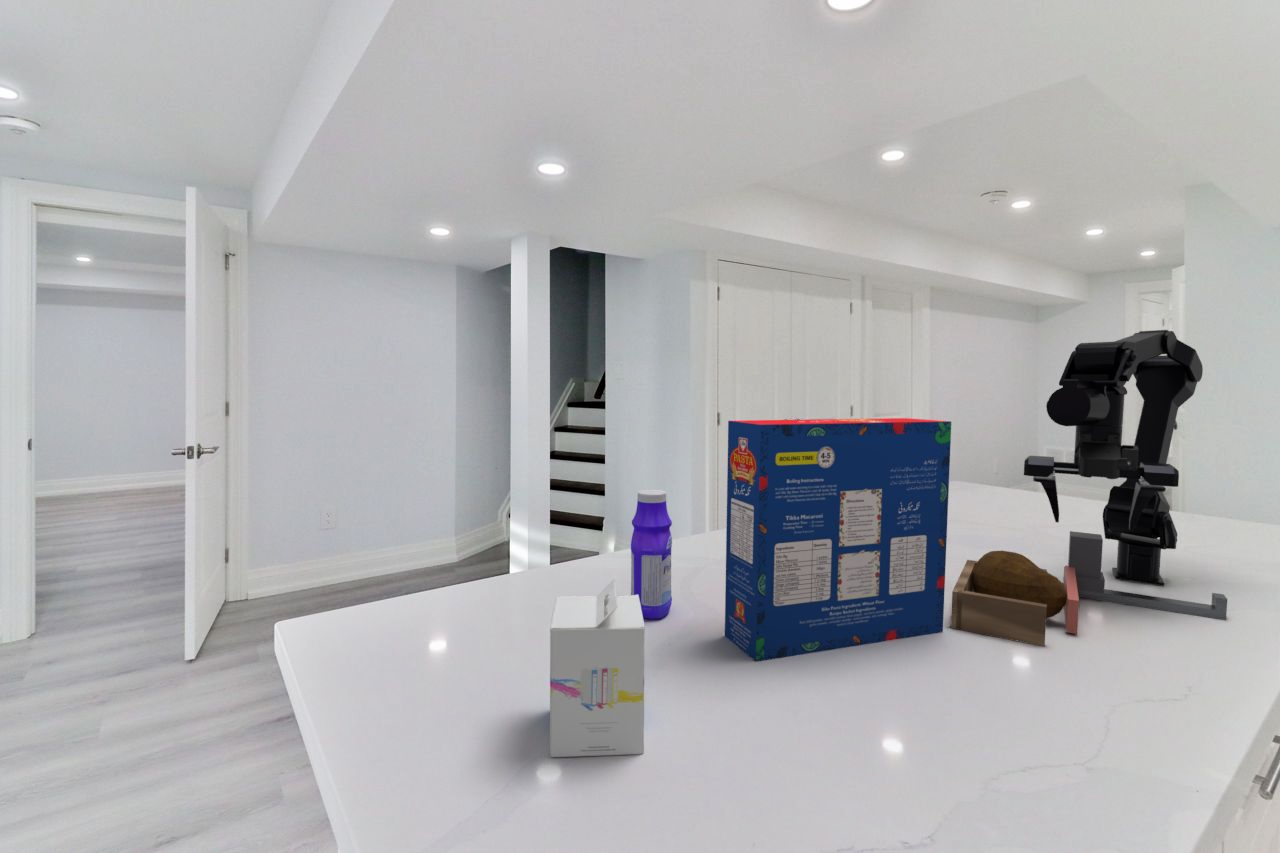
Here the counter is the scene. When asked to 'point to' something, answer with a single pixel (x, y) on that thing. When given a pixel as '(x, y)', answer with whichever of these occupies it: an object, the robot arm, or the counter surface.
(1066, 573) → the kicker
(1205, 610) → the rail
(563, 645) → the ink box
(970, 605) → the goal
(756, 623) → the pasta box
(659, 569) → the bottle
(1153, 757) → the counter surface
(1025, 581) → the potato
